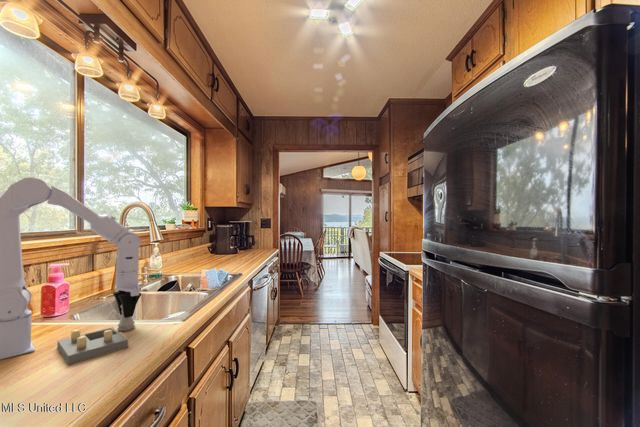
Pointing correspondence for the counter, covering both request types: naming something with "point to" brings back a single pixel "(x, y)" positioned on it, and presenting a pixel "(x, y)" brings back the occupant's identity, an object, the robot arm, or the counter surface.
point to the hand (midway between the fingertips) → (126, 315)
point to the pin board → (90, 344)
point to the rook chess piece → (125, 323)
